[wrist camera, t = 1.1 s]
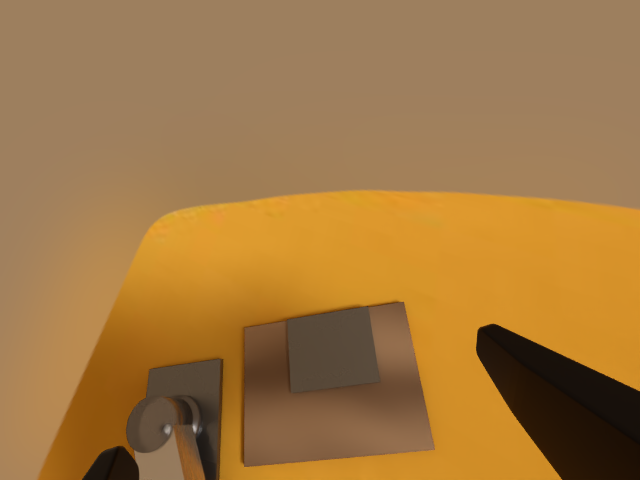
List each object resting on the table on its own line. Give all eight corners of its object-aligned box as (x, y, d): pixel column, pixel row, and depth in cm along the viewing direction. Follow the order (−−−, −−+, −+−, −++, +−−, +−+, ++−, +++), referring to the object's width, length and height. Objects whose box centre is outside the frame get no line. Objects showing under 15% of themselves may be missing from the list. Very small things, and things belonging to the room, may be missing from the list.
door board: (434, 449, 21) (435, 449, 21) (247, 466, 23) (244, 467, 23) (404, 303, 26) (403, 301, 25) (247, 329, 28) (244, 327, 27)
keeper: (380, 382, 23) (380, 381, 23) (292, 393, 24) (291, 392, 24) (368, 307, 26) (367, 306, 25) (288, 320, 27) (287, 319, 26)
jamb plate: (219, 486, 23) (211, 489, 22) (138, 493, 24) (128, 495, 24) (222, 359, 27) (216, 357, 26) (152, 369, 28) (144, 368, 27)
